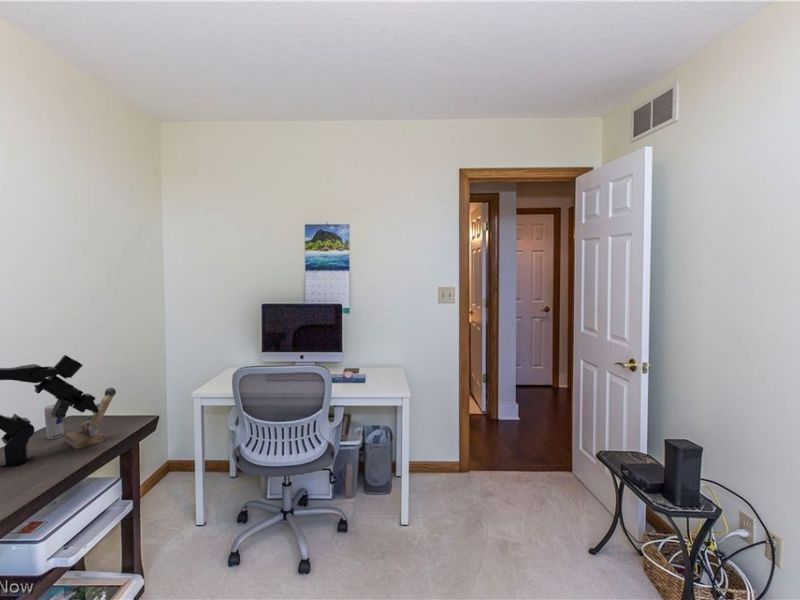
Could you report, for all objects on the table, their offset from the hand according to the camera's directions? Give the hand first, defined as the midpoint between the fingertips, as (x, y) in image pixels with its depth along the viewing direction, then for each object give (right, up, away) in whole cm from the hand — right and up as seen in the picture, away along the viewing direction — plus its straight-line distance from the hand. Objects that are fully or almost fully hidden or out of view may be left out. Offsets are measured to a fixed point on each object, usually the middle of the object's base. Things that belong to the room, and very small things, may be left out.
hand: (97, 411), depth 174 cm
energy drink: (-20, -11, +6) cm, 24 cm away
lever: (-2, -7, -1) cm, 7 cm away
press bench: (-5, -11, 0) cm, 12 cm away
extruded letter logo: (-17, -10, +24) cm, 31 cm away
